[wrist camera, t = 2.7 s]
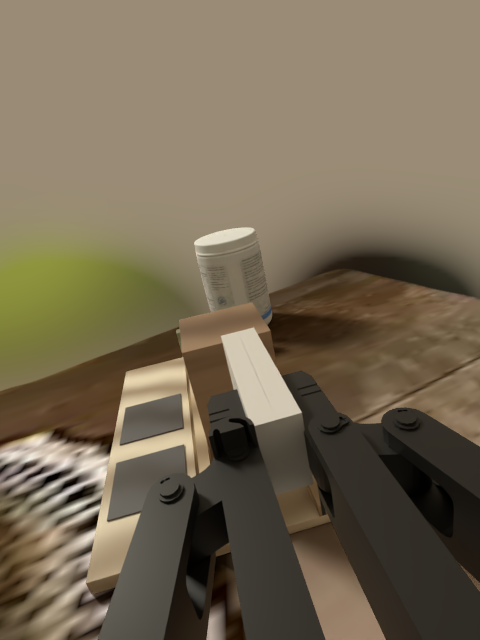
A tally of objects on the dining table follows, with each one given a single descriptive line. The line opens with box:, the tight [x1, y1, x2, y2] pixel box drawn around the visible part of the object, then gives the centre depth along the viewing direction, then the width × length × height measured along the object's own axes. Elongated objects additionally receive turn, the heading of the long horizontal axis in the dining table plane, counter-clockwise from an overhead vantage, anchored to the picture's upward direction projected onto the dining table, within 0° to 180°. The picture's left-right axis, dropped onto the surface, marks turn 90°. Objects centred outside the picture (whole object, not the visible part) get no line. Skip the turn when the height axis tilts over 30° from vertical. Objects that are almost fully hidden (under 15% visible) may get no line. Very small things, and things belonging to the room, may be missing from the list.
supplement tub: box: [194, 228, 272, 325], centre depth 60 cm, size 10×10×15 cm
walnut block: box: [179, 302, 277, 461], centre depth 31 cm, size 6×6×13 cm
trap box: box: [86, 329, 331, 594], centre depth 40 cm, size 30×18×5 cm, turn 10°
